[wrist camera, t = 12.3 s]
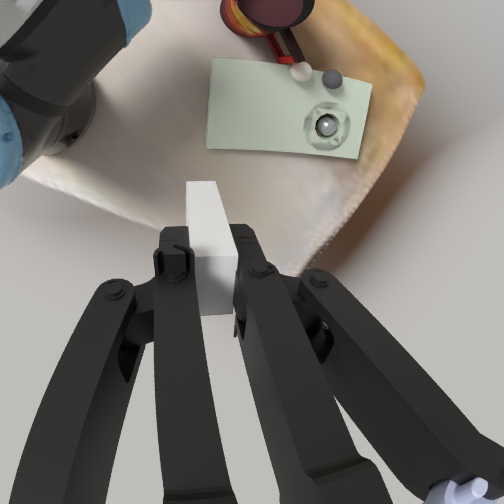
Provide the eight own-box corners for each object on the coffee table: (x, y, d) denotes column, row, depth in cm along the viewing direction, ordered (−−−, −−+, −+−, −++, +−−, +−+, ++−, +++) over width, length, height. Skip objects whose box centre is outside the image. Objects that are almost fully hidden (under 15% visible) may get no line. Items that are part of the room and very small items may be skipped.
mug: (278, 65, 39) (308, 66, 30) (206, 14, 33) (214, -3, 23) (314, 25, 36) (353, 18, 27) (246, -27, 29) (268, -52, 20)
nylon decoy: (294, 73, 35) (315, 78, 36) (294, 55, 35) (315, 60, 36) (287, 82, 38) (307, 86, 39) (287, 64, 38) (307, 69, 39)
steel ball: (331, 138, 44) (336, 136, 47) (335, 119, 43) (339, 119, 45) (313, 133, 46) (318, 132, 48) (316, 115, 44) (321, 114, 46)
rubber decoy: (319, 88, 39) (339, 85, 37) (317, 68, 38) (336, 66, 36) (328, 91, 41) (346, 90, 39) (326, 73, 40) (344, 71, 38)
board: (205, 144, 45) (206, 148, 43) (212, 58, 37) (213, 57, 35) (350, 154, 51) (357, 159, 49) (364, 82, 43) (372, 84, 41)
